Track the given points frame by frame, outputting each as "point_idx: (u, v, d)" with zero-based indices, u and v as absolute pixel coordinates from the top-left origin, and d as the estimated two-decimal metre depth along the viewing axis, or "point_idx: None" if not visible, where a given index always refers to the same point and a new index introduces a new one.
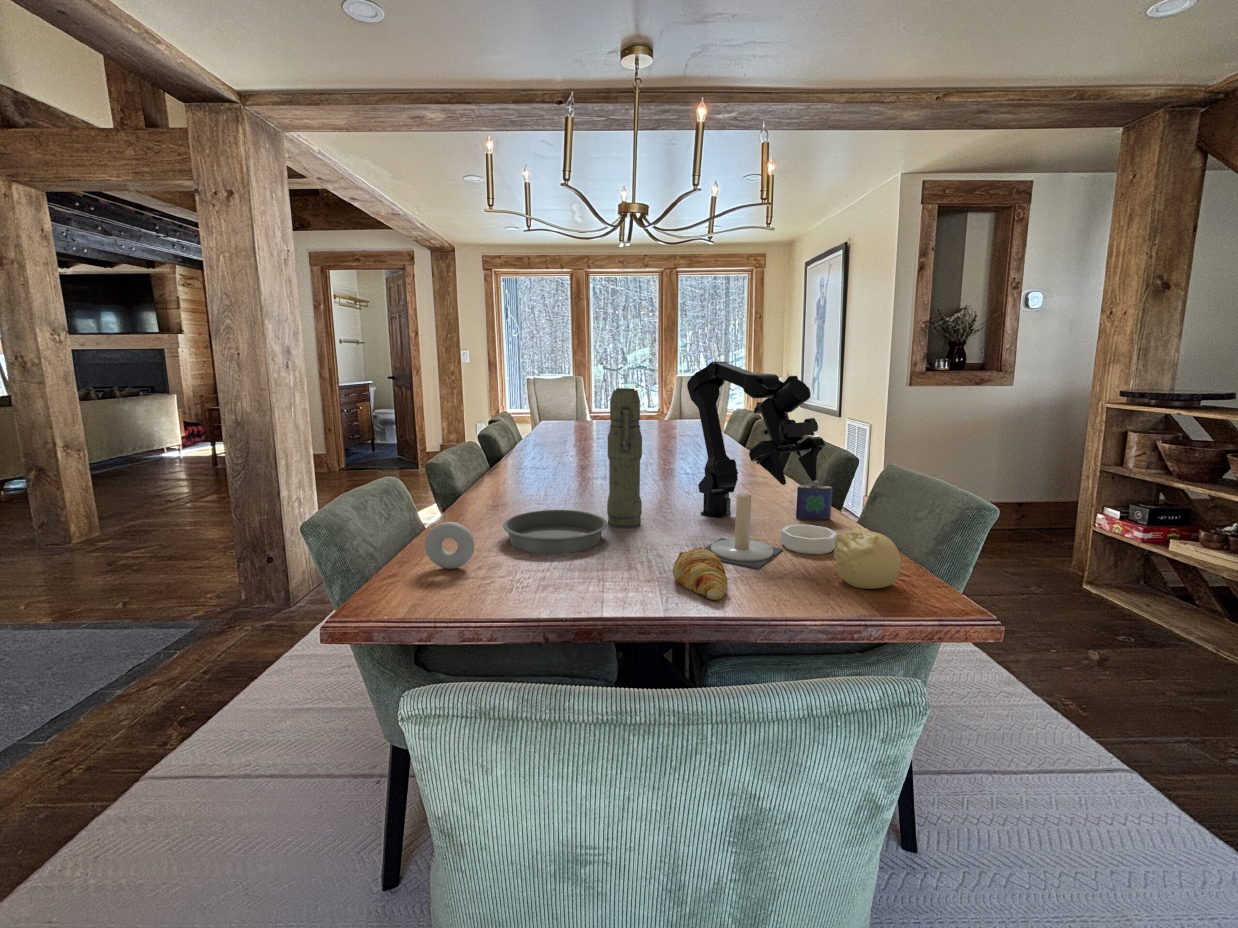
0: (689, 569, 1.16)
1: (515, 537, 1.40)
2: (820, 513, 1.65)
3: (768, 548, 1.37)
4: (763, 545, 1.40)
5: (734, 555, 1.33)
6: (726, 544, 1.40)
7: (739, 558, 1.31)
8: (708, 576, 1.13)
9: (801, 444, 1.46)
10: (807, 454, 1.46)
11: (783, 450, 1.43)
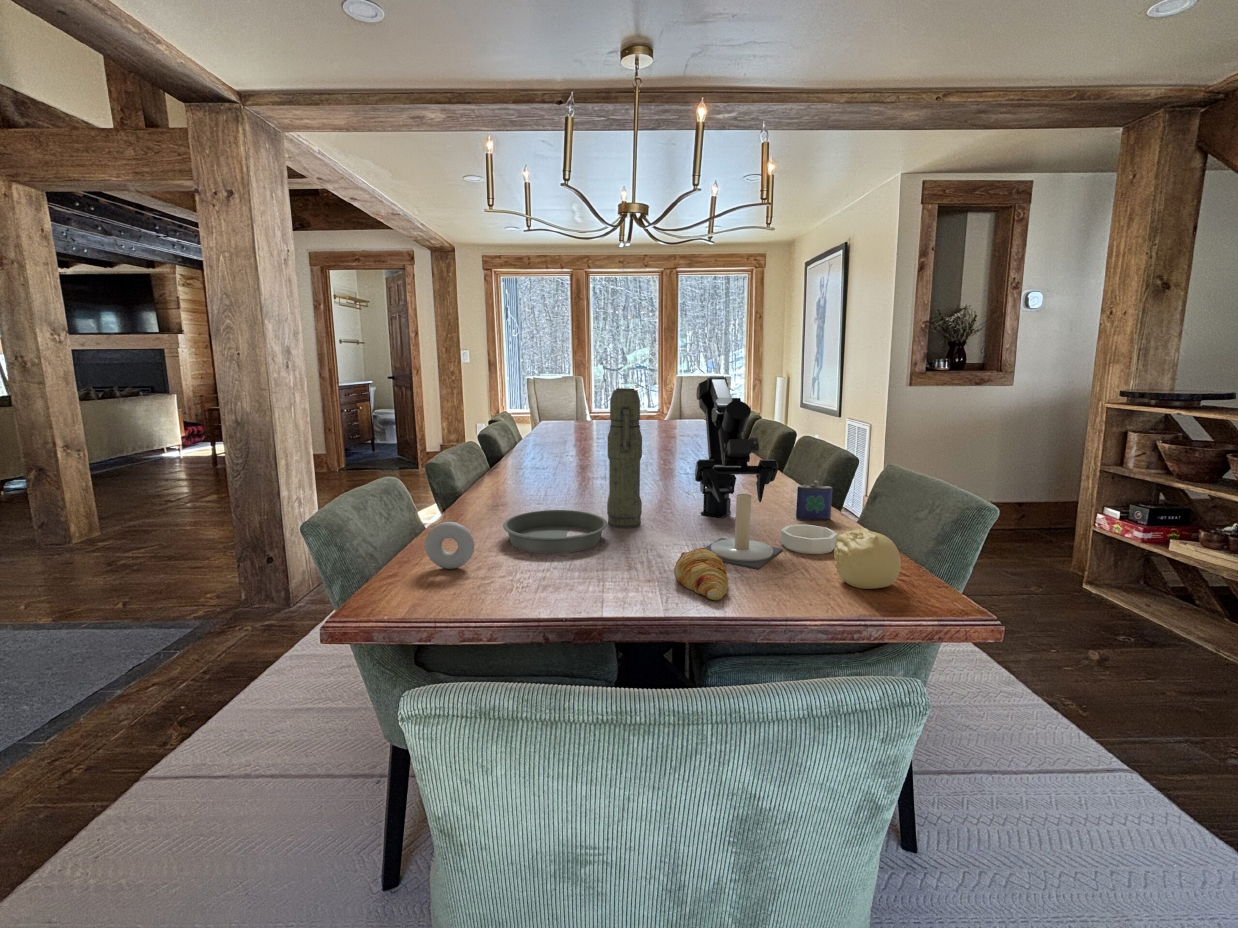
0: (690, 570, 1.16)
1: (515, 537, 1.40)
2: (820, 513, 1.65)
3: (768, 548, 1.37)
4: (763, 545, 1.40)
5: (734, 555, 1.33)
6: (726, 544, 1.40)
7: (739, 558, 1.31)
8: (708, 576, 1.13)
9: (754, 467, 1.45)
10: (759, 476, 1.43)
11: (729, 471, 1.44)
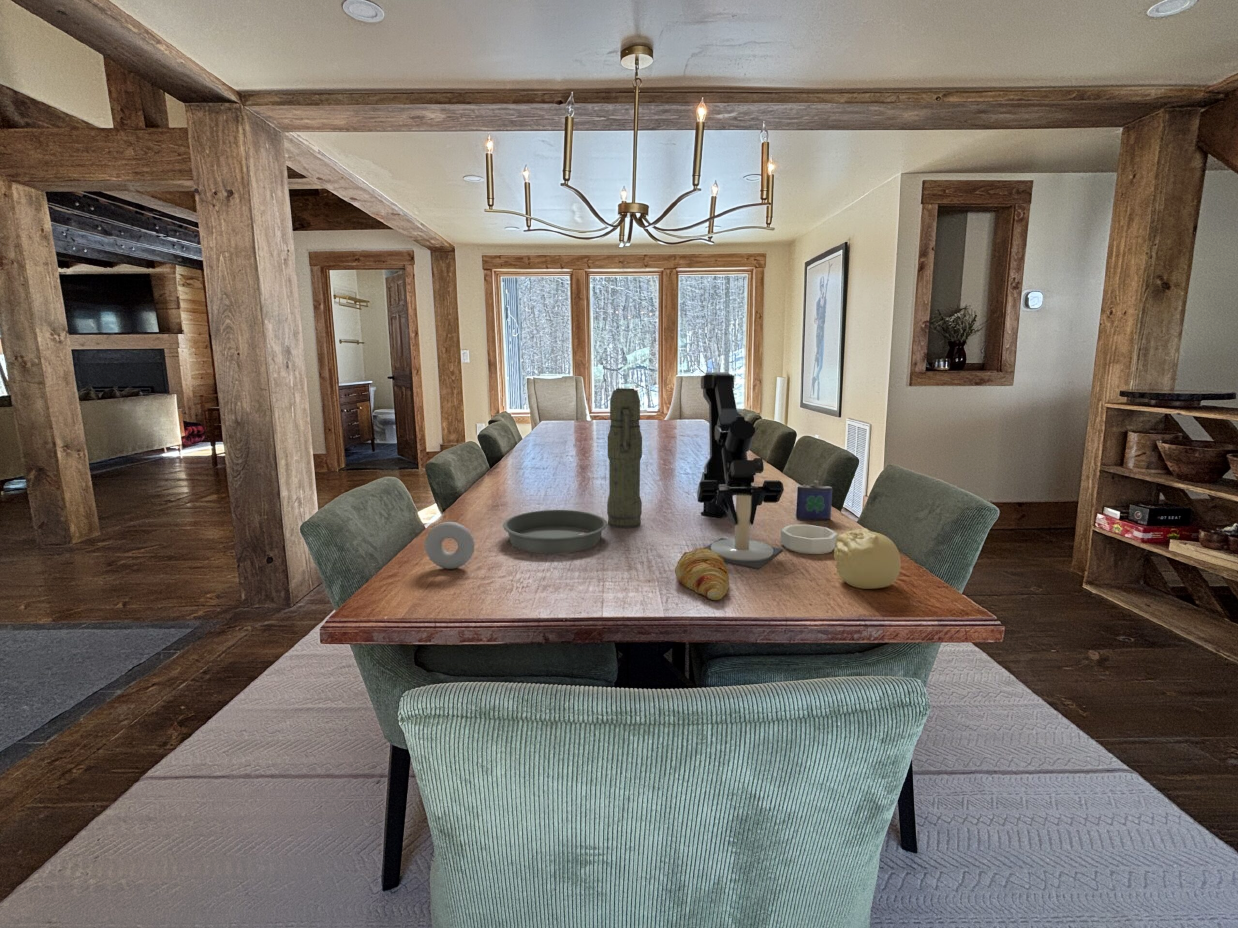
0: (690, 569, 1.16)
1: (515, 537, 1.40)
2: (820, 513, 1.65)
3: (768, 548, 1.37)
4: (763, 545, 1.40)
5: (734, 555, 1.33)
6: (726, 544, 1.40)
7: (739, 558, 1.31)
8: (709, 576, 1.13)
9: (758, 487, 1.40)
10: (751, 497, 1.39)
11: (732, 492, 1.40)
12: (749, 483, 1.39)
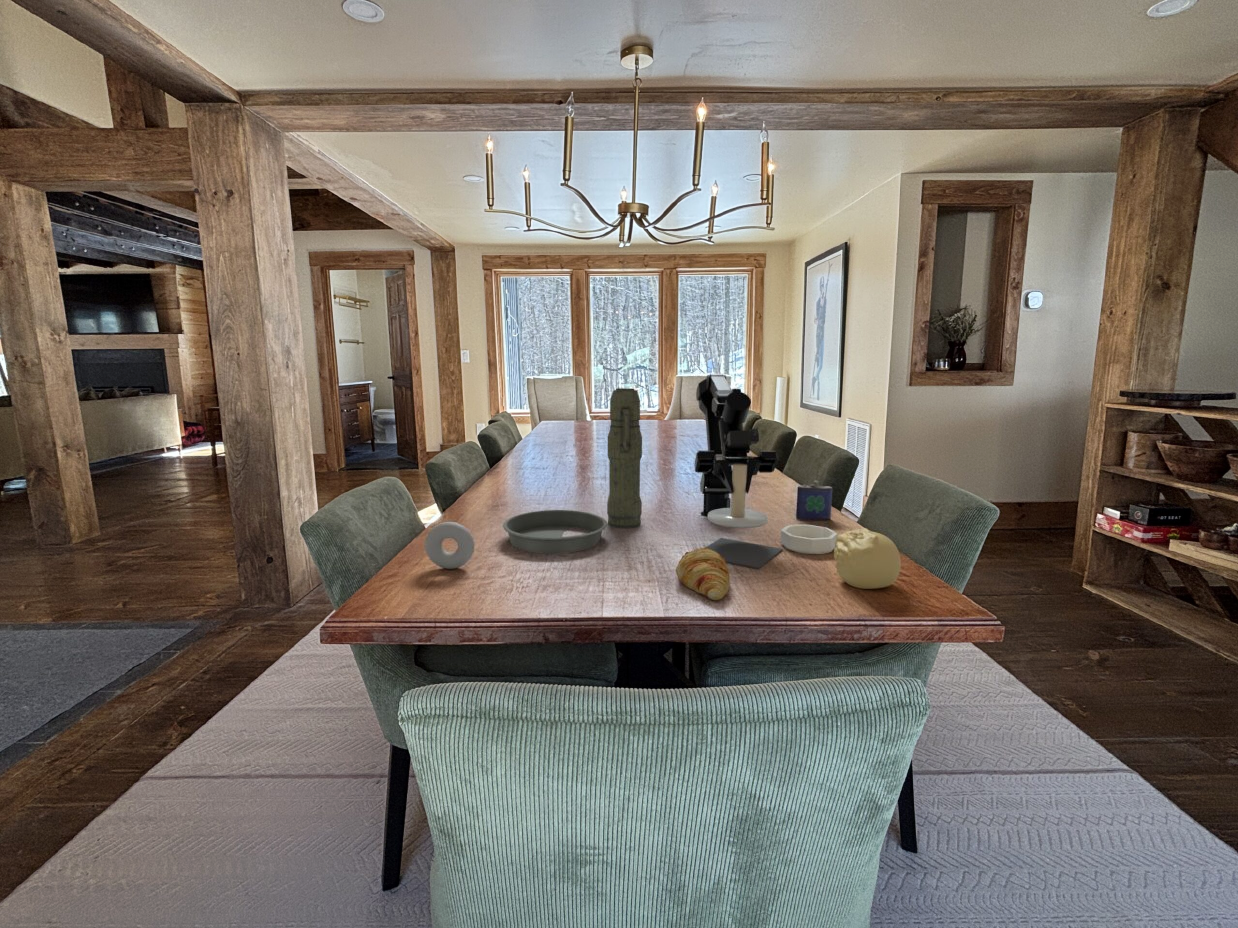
0: (691, 569, 1.16)
1: (515, 538, 1.40)
2: (820, 513, 1.65)
3: (763, 516, 1.42)
4: (758, 513, 1.45)
5: (730, 522, 1.38)
6: (722, 512, 1.45)
7: (735, 525, 1.36)
8: (710, 576, 1.13)
9: (754, 458, 1.45)
10: None
11: (729, 462, 1.44)
12: (745, 453, 1.44)
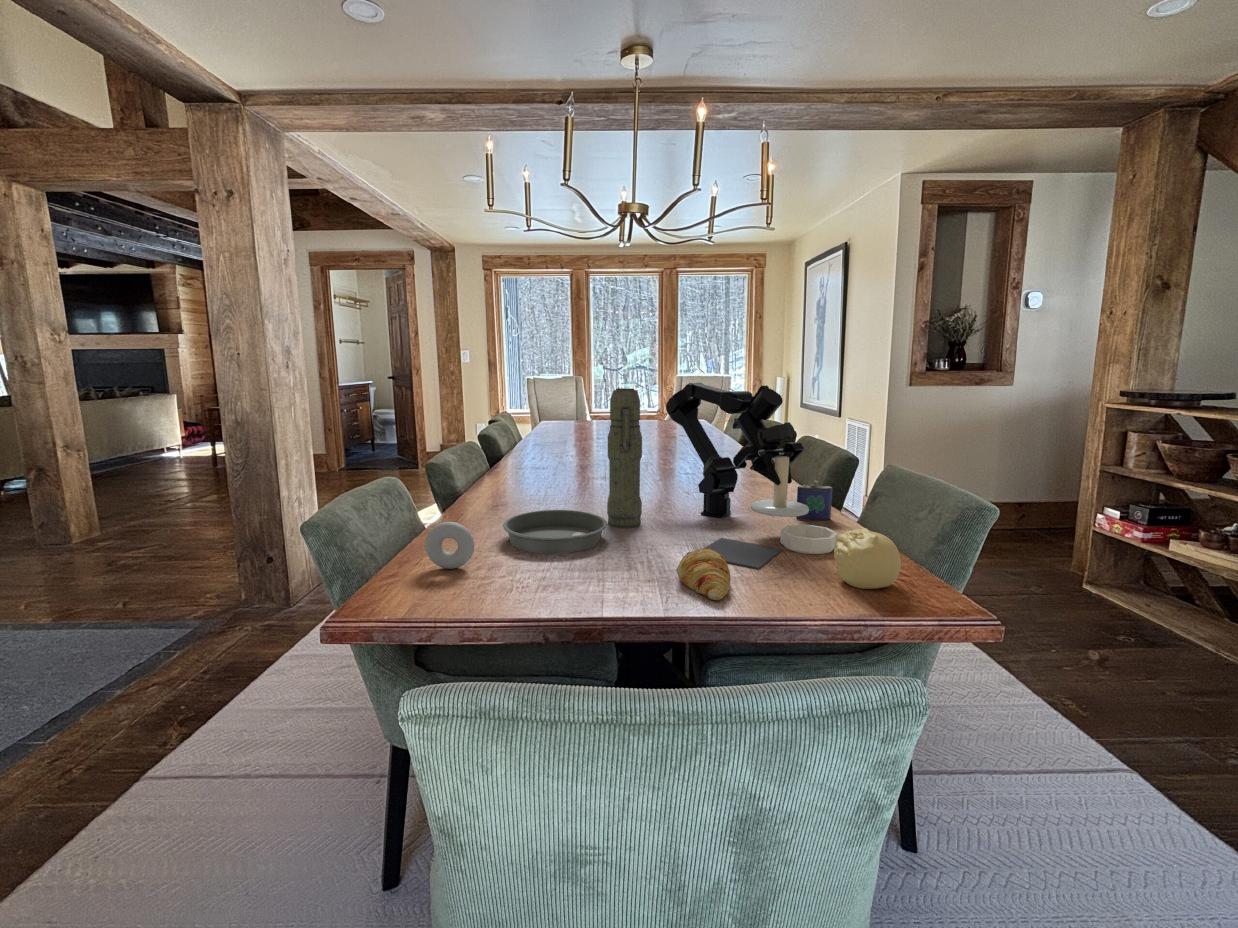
0: (692, 569, 1.16)
1: (515, 538, 1.40)
2: (820, 513, 1.65)
3: (798, 503, 1.52)
4: (789, 501, 1.54)
5: (787, 512, 1.44)
6: (763, 505, 1.50)
7: (793, 514, 1.43)
8: (710, 576, 1.13)
9: None
10: None
11: None
12: (777, 446, 1.51)
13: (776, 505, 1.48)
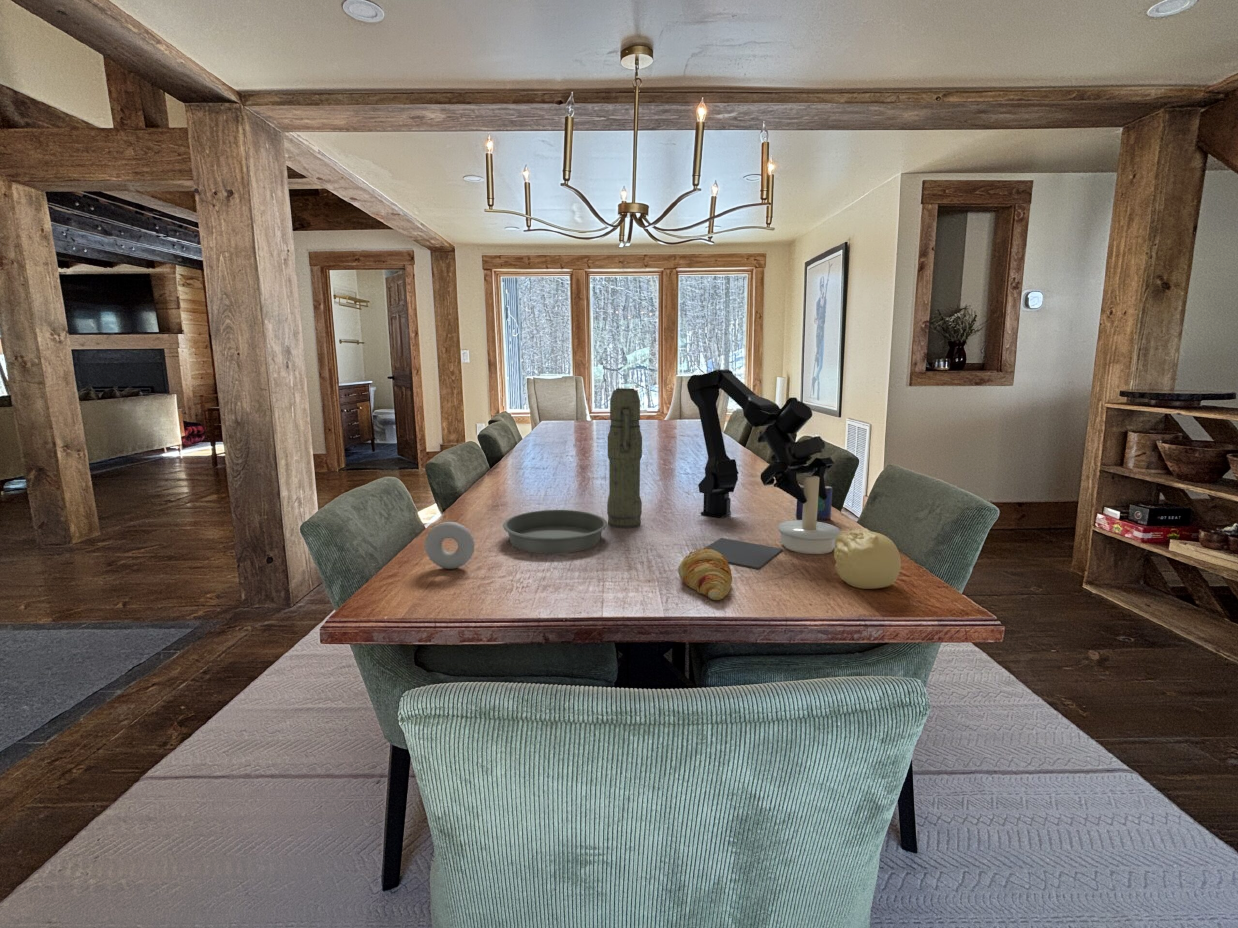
0: (693, 569, 1.16)
1: (515, 537, 1.40)
2: (820, 513, 1.65)
3: (828, 525, 1.45)
4: (818, 523, 1.46)
5: (818, 535, 1.36)
6: (791, 527, 1.43)
7: (825, 537, 1.36)
8: (711, 576, 1.13)
9: (810, 465, 1.46)
10: (813, 475, 1.44)
11: None
12: (806, 461, 1.44)
13: (805, 527, 1.41)
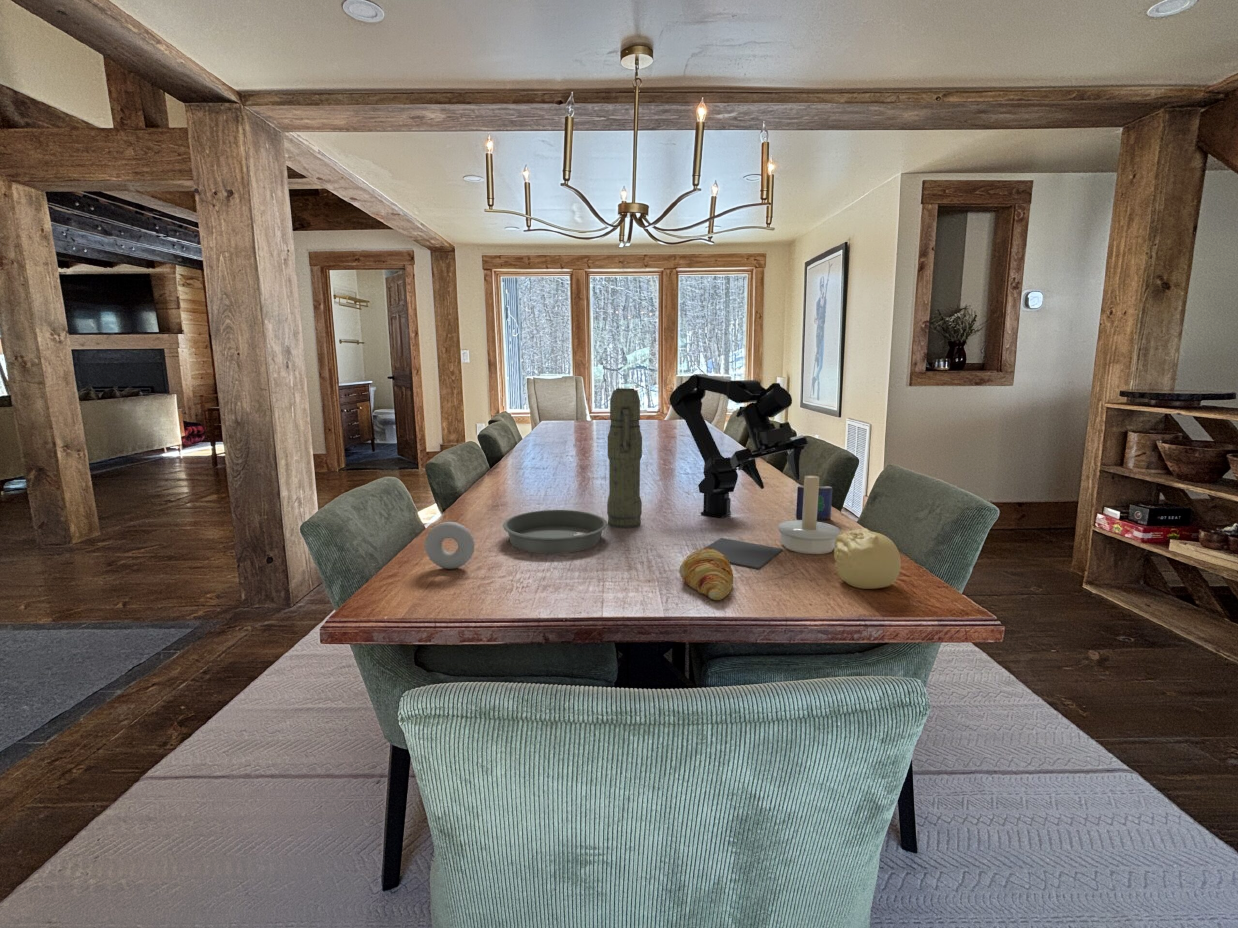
0: (694, 569, 1.16)
1: (515, 538, 1.40)
2: (820, 513, 1.65)
3: (828, 525, 1.45)
4: (818, 523, 1.46)
5: (818, 535, 1.36)
6: (791, 527, 1.43)
7: (825, 537, 1.36)
8: (711, 576, 1.13)
9: (784, 445, 1.52)
10: (791, 454, 1.52)
11: (763, 454, 1.51)
12: (777, 444, 1.51)
13: (805, 527, 1.41)
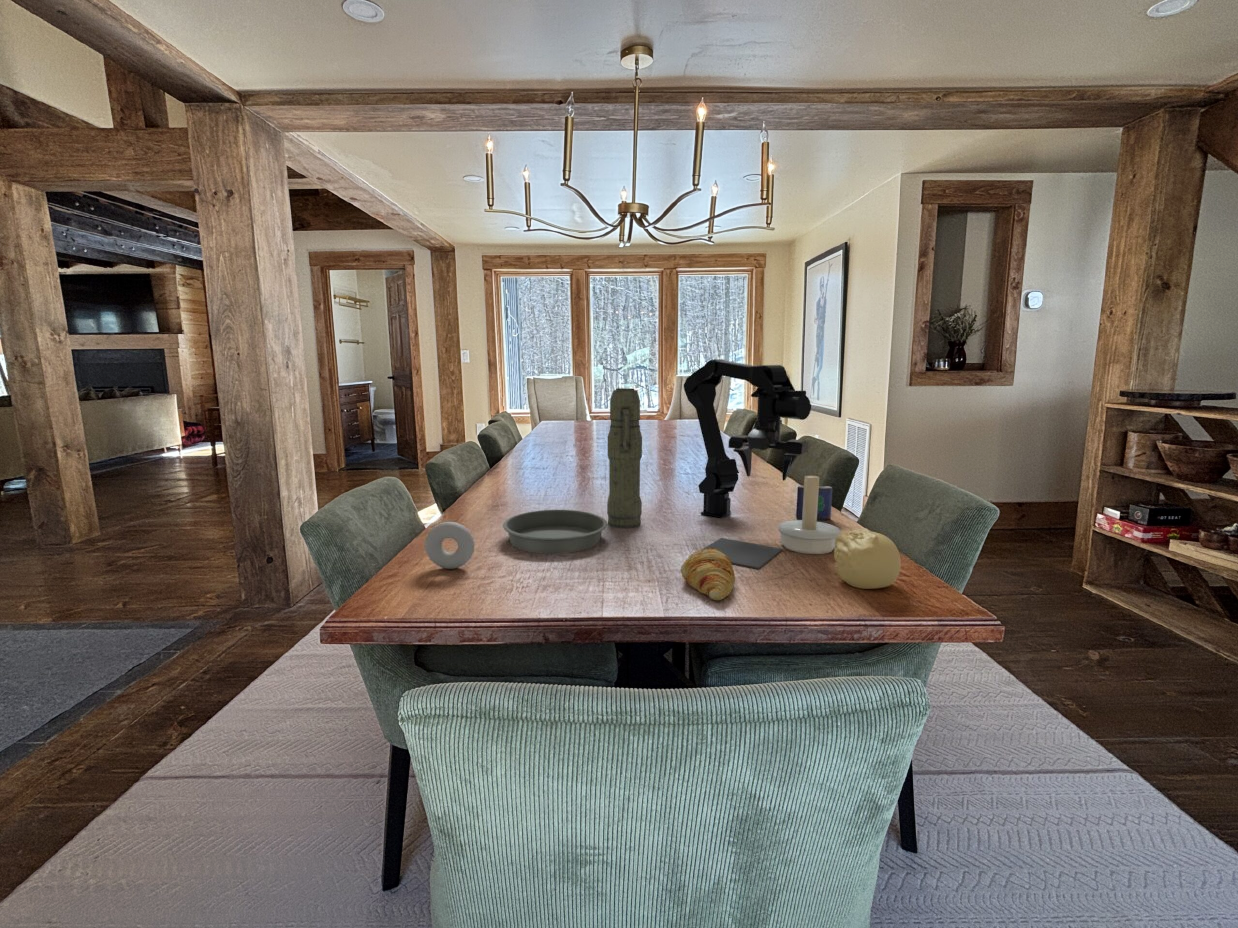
0: (695, 569, 1.16)
1: (515, 537, 1.40)
2: (820, 513, 1.65)
3: (828, 525, 1.45)
4: (818, 523, 1.46)
5: (818, 535, 1.36)
6: (791, 527, 1.43)
7: (825, 537, 1.36)
8: (712, 576, 1.13)
9: (783, 444, 1.51)
10: None
11: None
12: None
13: (805, 527, 1.41)
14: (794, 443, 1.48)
